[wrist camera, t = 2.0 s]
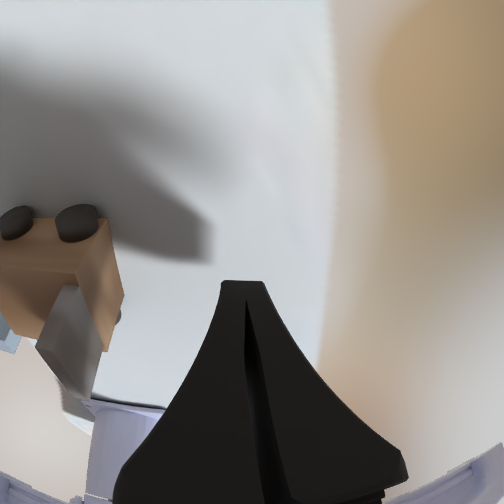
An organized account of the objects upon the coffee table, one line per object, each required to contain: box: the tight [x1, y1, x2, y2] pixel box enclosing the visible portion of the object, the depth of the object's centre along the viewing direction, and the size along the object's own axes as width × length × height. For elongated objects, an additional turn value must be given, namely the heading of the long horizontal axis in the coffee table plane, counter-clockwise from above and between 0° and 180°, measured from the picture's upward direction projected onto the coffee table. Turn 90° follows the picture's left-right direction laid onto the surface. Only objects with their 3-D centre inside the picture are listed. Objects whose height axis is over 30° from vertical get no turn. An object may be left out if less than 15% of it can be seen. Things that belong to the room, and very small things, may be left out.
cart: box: [0, 204, 124, 401], centre depth 8 cm, size 5×5×6 cm
